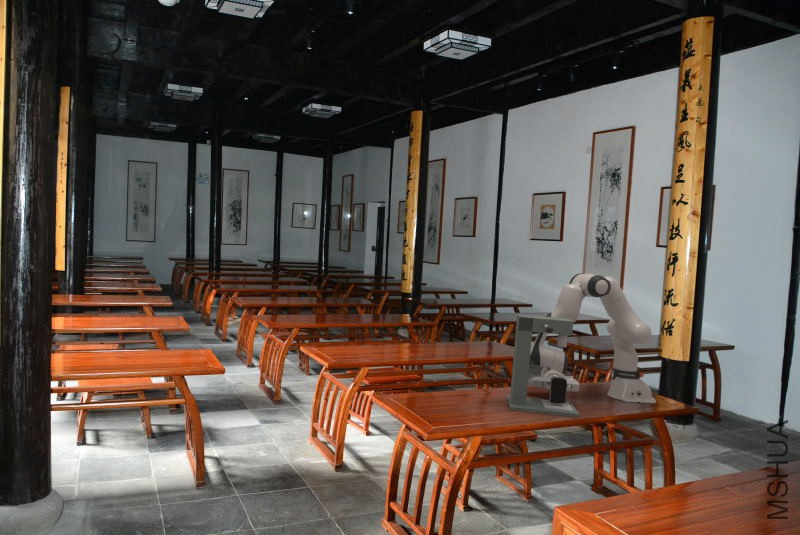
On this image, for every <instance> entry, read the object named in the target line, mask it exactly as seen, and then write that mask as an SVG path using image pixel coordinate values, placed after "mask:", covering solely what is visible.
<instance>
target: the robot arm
mask: <svg viewBox="0 0 800 535" xmlns="http://www.w3.org/2000/svg"><path fill="white" fill-rule="evenodd" d="M586 297H590V298H591V297H594V298H599V300H600V302H601V303H602V305H603V307H604V310H605V312H606V314H607V316H609V318H610V320H609V321H608V323H607V326H606V328H607V329H606V331H607V332H608V334H609V335H610V337H611V341H612V345H613V351H614V352H613V354H614V355H613V364H612V366H613V367H612V369H611V373H610V374H611V376H610V377H611V382H610V385H609V389H608V391H607V393H606V395H607V396H608V397H609V398H612V399H615V400H619V401H623V402H626V403H638V402H640V403H639V404H641V403H642V404H656V403H657V400H656V398H654V397H653V395H652V390H651V388H650V387H649V386H648V384H647V383H646V382H645V381H643V379H642V378H643V377H645V374H644V373H643V372H640V371H639V370H638V365H639V364H638V362H639V354H638V352H637V351H636V349H635V346H634V344H635V345H642V344H643V345H644V344H647V343H648V342H649V341H650V340H651V337H652V329H651V327H650V326H649V325H647V324H646V323H645V322H644V321H643V320H642V319H641V318H640V317H639V315H638V314H637V313H636V312H635V310H633V308H632V307H631V305H630V303H629V301H628V300H627V298H626V295H625V294H624V291H623V290H622V287H621V286H620V285H619V283H618V282H617V280H616V279H615V278H614V277H612V276H603V275H599V274H596V273H595V274H594V273H576V274H575V275H573V276H572V277H571V279H570V280H569V282H568V283H567V284H565V285H563V287H562V289H561V292H560V293H559V295H558V299H557V303H556V305H555V308H554V309H553V311H552V312H550V313H547V314H546V315H545V317H555V318H566V319H570V320H572V321H573V324H574V323H575V322H576V321H577V320H578V318H579V315H580V312H581V309H582V303H583V300H584V299H585V298H586ZM548 335H549V333H540V332H537V335H536V337H535V339H534V341H533V343H532V344H531V351H530V363H529V364H530V365H532V366H534V367H542V369H541V372H540V376H534V377H533V378H531V380H530V381H531V382H533V383H532V385H533V388H538V389H546V390H549V391H550V387H551V386H550V380H551V378H552V377H563V378H565V379H566V380H567V389H566V392H577V393H578V392H579V391H580V383H579V381H577V379H575V378H574V376H572V375H569V374H565V373H566V372H567V371H568V370H567V369H568V364H569V357H568V355H567V353H566V351H563V350H561V349H557V348H552V347H547V346H545V345H544V343H545V340H546V339H547V336H548Z"/></svg>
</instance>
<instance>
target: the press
mask: <svg viewBox="0 0 800 535" xmlns="http://www.w3.org/2000/svg"><path fill="white" fill-rule="evenodd" d="M573 328H574V323H573V321H572V320H570V319H566V318H555V317H546V316H541V315H531V314H519V313H518V314H517V315H516V326H515V335H514V336H515V338H514V347H513V360H512V372H511V382H510V393H509V394H508V395H507V394H506V401H507V400H508V401H507V404H509V405H508V408H509V407H510V408H509V410H510V411H512V410H516V411H515V412H521V411H523V412H525V413H531V412H536V413H535V414H541V413H547V414H546V415H550V414H553V416H560V415H561V417H562V416H563V417H569V416H571V418H580V413H579V411H578V410H577V408H576V407H575V406H574V404H573V403H572V401H567V400H565V404H559V403H550V402H549V399H550V398H549V399H547V398H537V397H530V396H529V397H528V395H527V394H528V386H529V385H528V384H529V382H528V381H529V373H530V372H529V371H530V364H531V363H530V351H531V347H532V341H533V340H532V338H533V333H538V332H540V333H548V334H553V335H554V334H555V335H557V342H556V346H557V347H559V348H567V345H568V336H573ZM523 412H522V413H523Z"/></svg>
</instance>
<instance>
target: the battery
mask: <svg viewBox="0 0 800 535" xmlns="http://www.w3.org/2000/svg"><path fill="white" fill-rule="evenodd" d="M550 386H551V387H550V390H549V402H550V403H559V404H565V401H566V395H567V391H566V389H567V380H566V379H565V378H563V377H552V378H551V380H550Z"/></svg>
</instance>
